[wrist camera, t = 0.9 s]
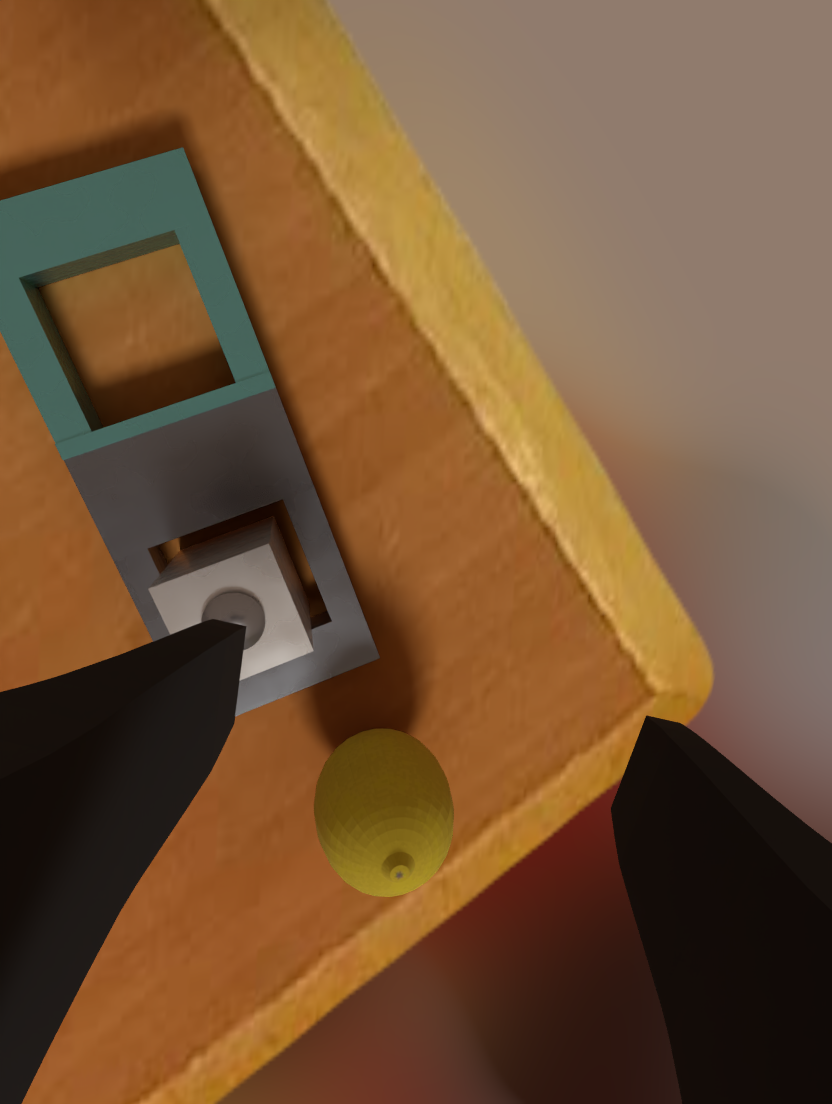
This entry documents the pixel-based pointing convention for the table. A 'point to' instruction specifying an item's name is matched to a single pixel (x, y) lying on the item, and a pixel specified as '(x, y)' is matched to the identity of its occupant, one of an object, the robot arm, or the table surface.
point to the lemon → (384, 812)
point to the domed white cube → (240, 593)
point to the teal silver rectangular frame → (176, 430)
